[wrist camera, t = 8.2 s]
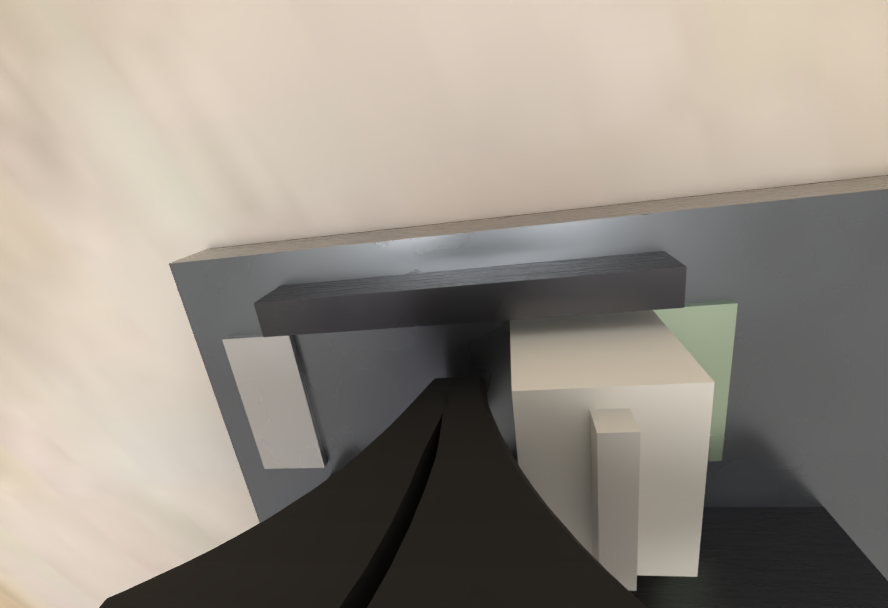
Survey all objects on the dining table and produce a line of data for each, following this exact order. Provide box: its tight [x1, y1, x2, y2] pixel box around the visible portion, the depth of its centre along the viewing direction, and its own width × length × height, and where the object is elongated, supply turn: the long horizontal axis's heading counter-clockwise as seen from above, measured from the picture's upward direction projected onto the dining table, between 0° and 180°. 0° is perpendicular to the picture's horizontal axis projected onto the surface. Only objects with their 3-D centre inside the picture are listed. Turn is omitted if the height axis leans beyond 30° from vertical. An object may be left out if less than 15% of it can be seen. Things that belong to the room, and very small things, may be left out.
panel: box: [169, 175, 888, 608], centre depth 11 cm, size 15×20×5 cm
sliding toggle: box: [510, 310, 715, 591], centre depth 9 cm, size 4×3×4 cm
